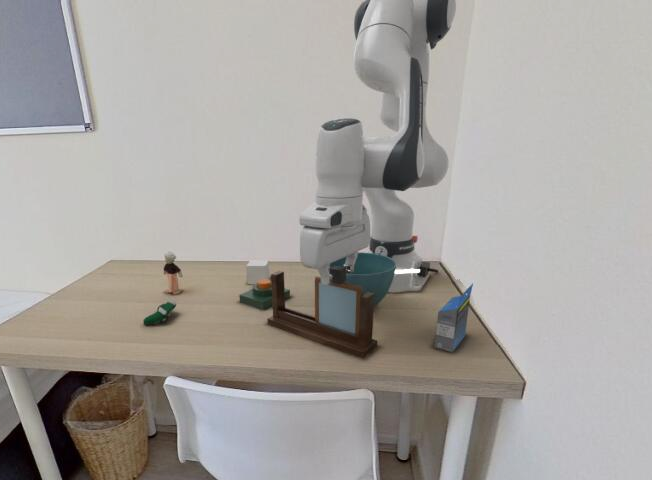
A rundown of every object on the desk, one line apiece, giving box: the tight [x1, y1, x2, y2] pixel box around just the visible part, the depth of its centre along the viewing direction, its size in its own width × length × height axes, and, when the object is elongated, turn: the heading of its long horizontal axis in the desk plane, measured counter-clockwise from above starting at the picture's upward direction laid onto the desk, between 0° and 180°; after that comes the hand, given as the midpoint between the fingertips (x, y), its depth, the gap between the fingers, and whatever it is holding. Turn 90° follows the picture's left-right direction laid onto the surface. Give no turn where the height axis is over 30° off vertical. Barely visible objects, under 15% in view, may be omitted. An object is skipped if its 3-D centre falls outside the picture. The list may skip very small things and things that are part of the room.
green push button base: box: [238, 283, 291, 311], centre depth 109 cm, size 11×9×4 cm
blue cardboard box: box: [433, 283, 474, 353], centre depth 81 cm, size 9×4×12 cm, turn 140°
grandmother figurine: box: [162, 251, 183, 295], centre depth 116 cm, size 8×4×13 cm, turn 68°
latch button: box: [258, 279, 271, 289], centre depth 108 cm, size 4×4×2 cm
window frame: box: [266, 270, 379, 359], centre depth 87 cm, size 6×26×12 cm, turn 48°
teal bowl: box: [328, 251, 396, 309], centre depth 100 cm, size 18×18×12 cm
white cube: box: [245, 259, 271, 285], centre depth 123 cm, size 6×6×6 cm
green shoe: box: [143, 298, 177, 326], centre depth 100 cm, size 9×4×6 cm
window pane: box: [314, 266, 363, 335], centre depth 83 cm, size 2×11×15 cm, turn 48°
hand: (337, 277), depth 81 cm, fingers open, 7 cm apart
